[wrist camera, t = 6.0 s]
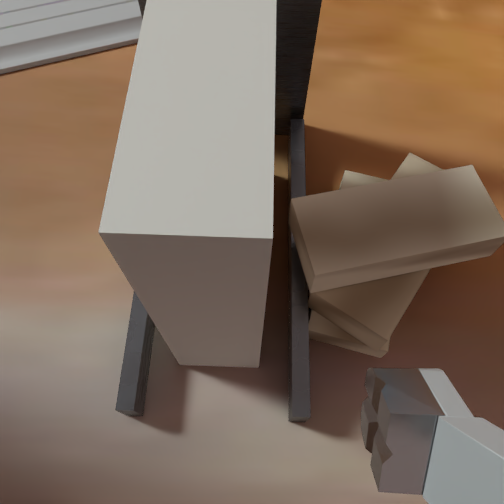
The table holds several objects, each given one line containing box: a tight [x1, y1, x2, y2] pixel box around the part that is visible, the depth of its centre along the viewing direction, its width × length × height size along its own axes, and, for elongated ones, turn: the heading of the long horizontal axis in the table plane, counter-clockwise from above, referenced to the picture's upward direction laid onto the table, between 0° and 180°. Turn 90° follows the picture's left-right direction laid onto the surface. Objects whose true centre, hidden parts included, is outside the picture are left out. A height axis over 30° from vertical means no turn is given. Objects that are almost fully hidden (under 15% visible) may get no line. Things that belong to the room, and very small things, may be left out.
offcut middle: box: [308, 153, 443, 352], centre depth 23 cm, size 4×10×2 cm, turn 144°
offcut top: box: [289, 165, 504, 293], centre depth 22 cm, size 4×9×2 cm, turn 102°
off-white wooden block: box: [99, 0, 277, 368], centre depth 19 cm, size 4×12×14 cm, turn 178°
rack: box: [116, 0, 322, 422], centre depth 19 cm, size 9×18×15 cm, turn 178°
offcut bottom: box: [308, 170, 390, 358], centre depth 25 cm, size 4×10×2 cm, turn 164°
